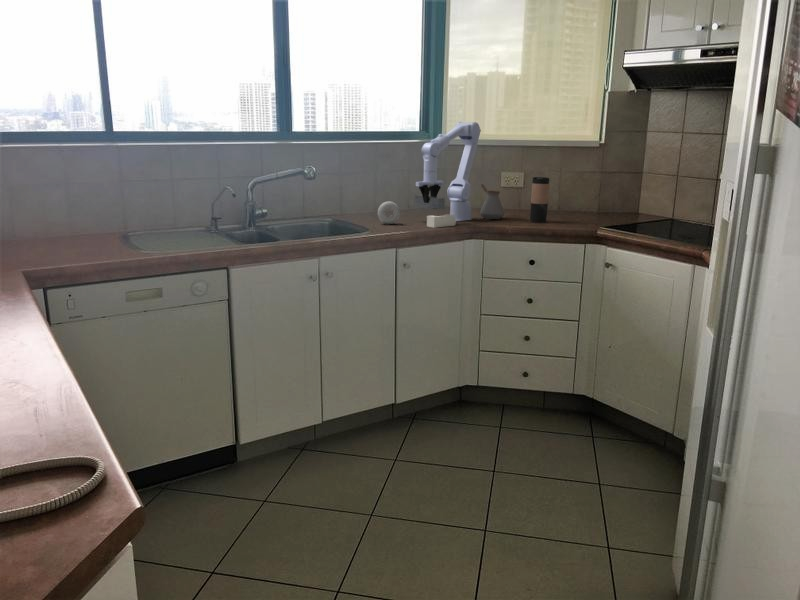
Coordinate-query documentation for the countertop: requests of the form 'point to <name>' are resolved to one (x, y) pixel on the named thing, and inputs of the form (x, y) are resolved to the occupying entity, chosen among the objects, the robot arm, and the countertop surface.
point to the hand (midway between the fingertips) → (429, 202)
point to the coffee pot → (492, 205)
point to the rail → (430, 202)
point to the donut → (395, 212)
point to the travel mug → (539, 199)
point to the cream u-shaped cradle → (441, 220)
